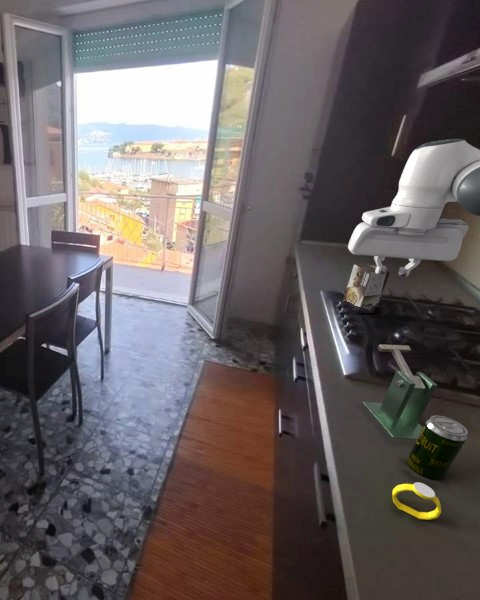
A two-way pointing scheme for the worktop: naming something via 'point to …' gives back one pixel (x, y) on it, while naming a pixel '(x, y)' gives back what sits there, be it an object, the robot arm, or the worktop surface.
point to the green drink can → (436, 447)
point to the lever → (403, 363)
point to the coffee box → (365, 285)
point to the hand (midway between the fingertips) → (391, 274)
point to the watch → (423, 492)
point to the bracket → (403, 406)
